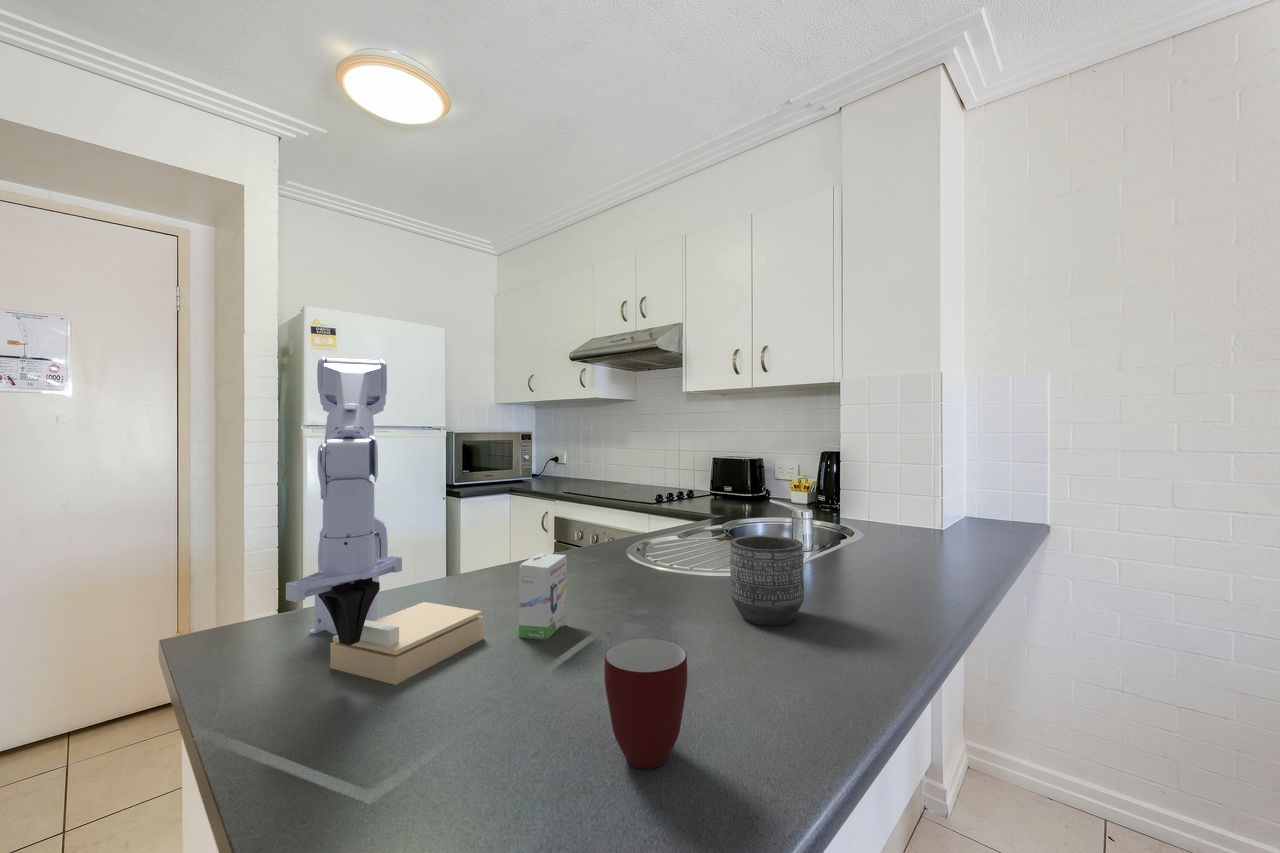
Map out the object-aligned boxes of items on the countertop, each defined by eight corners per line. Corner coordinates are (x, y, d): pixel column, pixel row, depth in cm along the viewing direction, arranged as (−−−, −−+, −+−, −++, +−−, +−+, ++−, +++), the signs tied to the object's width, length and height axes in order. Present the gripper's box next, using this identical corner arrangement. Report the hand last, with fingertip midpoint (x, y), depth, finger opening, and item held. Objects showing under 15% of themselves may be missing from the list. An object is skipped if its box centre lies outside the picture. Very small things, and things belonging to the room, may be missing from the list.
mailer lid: (332, 640, 71) (332, 621, 71) (424, 605, 85) (424, 589, 85) (395, 655, 66) (395, 634, 66) (481, 615, 80) (481, 598, 80)
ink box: (538, 623, 89) (538, 552, 89) (568, 624, 88) (567, 553, 88) (516, 643, 81) (516, 564, 81) (549, 645, 80) (548, 566, 80)
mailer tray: (330, 673, 71) (330, 643, 71) (424, 632, 85) (424, 607, 85) (395, 691, 66) (395, 658, 66) (483, 643, 80) (483, 617, 80)
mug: (592, 728, 57) (591, 635, 57) (663, 716, 59) (662, 626, 60) (617, 792, 47) (616, 678, 47) (701, 773, 49) (700, 665, 49)
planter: (812, 612, 93) (811, 539, 93) (792, 635, 82) (790, 553, 82) (746, 601, 99) (745, 532, 99) (719, 621, 89) (718, 544, 89)
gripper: (314, 548, 59) (314, 671, 59) (418, 526, 72) (418, 627, 72) (274, 543, 62) (274, 661, 62) (381, 523, 75) (381, 620, 75)
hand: (349, 642), depth 67 cm, fingers closed
